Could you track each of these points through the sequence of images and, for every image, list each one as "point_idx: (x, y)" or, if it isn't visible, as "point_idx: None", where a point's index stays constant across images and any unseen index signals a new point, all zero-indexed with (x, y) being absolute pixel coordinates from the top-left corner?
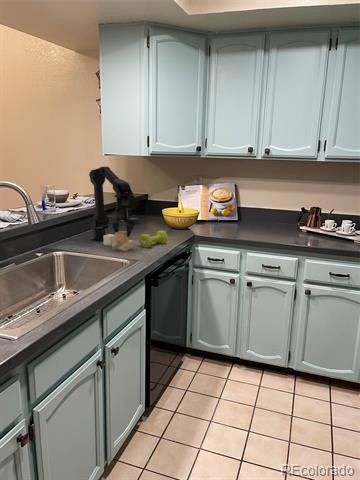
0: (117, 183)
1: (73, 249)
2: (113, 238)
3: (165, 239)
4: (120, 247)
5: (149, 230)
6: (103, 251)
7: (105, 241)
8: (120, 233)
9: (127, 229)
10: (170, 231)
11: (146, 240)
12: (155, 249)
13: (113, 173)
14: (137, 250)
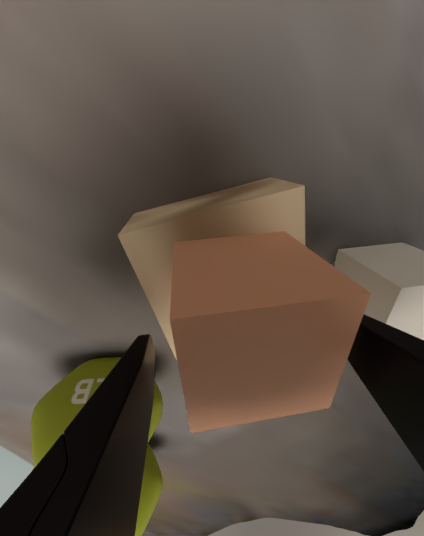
0: None
1: None
2: (366, 308)
3: None
4: (187, 204)
5: (308, 485)
6: (293, 18)
7: (408, 254)
8: (233, 308)
9: (56, 496)
10: (237, 512)
11: (53, 413)
12: (16, 371)
13: None
14: (72, 282)
